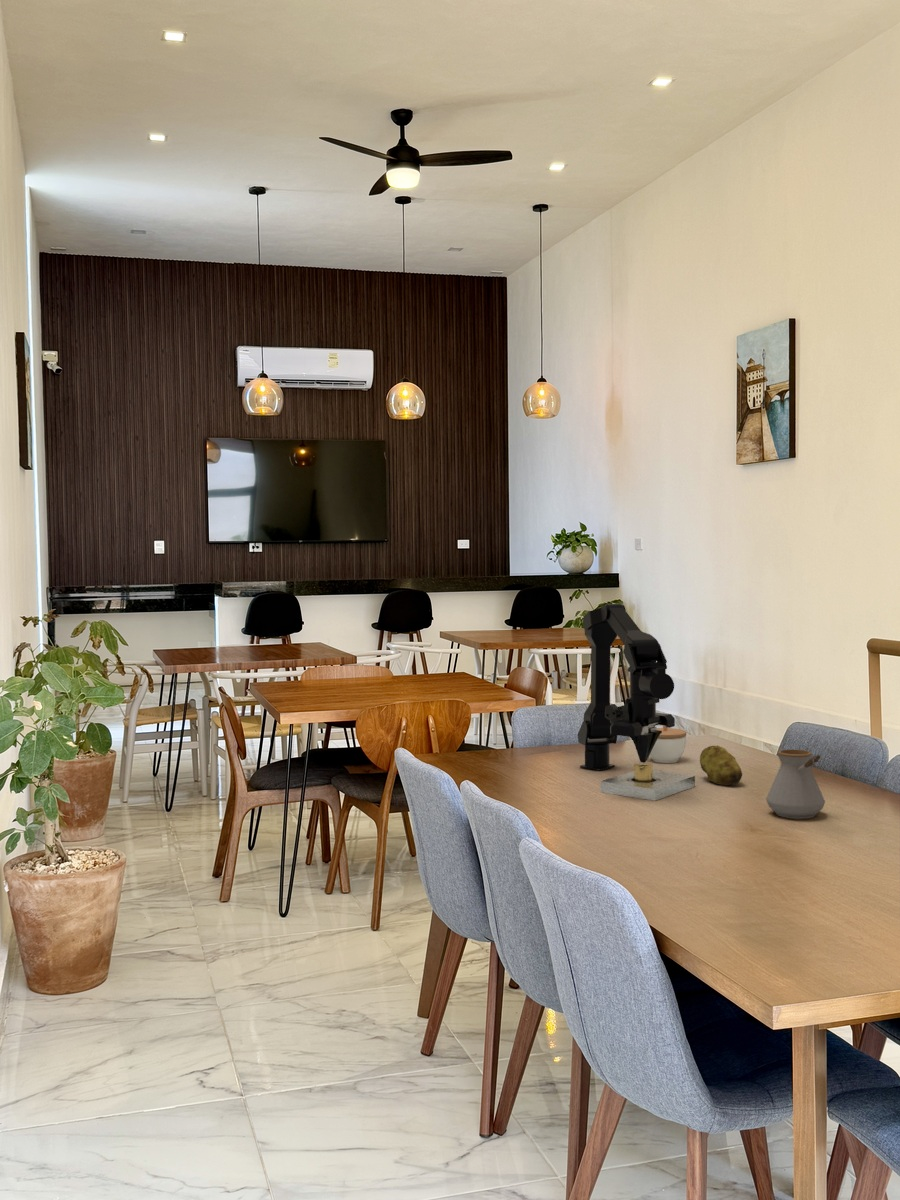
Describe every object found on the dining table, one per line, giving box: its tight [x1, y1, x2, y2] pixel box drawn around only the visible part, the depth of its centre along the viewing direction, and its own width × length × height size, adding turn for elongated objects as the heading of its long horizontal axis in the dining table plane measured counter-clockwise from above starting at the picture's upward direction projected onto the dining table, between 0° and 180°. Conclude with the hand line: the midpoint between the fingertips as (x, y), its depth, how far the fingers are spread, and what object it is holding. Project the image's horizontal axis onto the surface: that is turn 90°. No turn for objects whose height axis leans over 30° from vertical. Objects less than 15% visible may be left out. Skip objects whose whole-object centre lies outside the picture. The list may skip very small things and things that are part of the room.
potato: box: [699, 745, 743, 786], centre depth 254 cm, size 8×13×8 cm, turn 177°
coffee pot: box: [765, 749, 826, 820], centre depth 217 cm, size 21×12×15 cm, turn 179°
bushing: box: [633, 762, 653, 783], centre depth 246 cm, size 4×4×6 cm
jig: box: [599, 769, 696, 801], centre depth 247 cm, size 18×14×2 cm
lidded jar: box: [649, 725, 687, 764], centre depth 281 cm, size 11×11×9 cm
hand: (643, 762), depth 246 cm, fingers closed
